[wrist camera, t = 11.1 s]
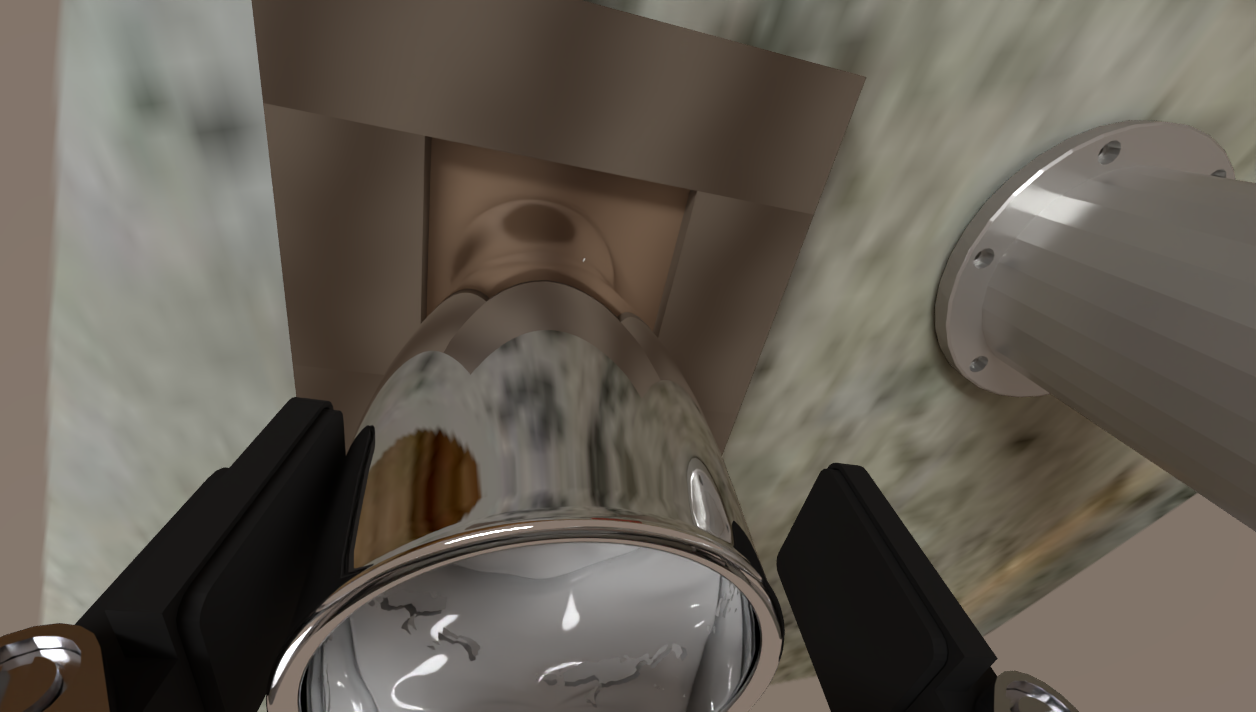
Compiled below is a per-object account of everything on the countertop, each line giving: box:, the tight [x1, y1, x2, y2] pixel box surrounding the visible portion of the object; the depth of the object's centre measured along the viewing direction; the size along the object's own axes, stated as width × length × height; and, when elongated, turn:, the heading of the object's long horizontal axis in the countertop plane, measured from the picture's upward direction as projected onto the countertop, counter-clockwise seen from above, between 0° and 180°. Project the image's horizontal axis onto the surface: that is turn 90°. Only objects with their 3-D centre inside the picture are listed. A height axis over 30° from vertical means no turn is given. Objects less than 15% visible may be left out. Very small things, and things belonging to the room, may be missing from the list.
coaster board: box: [252, 0, 866, 455], centre depth 20 cm, size 18×18×2 cm
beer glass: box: [266, 199, 785, 712], centre depth 13 cm, size 7×7×15 cm
